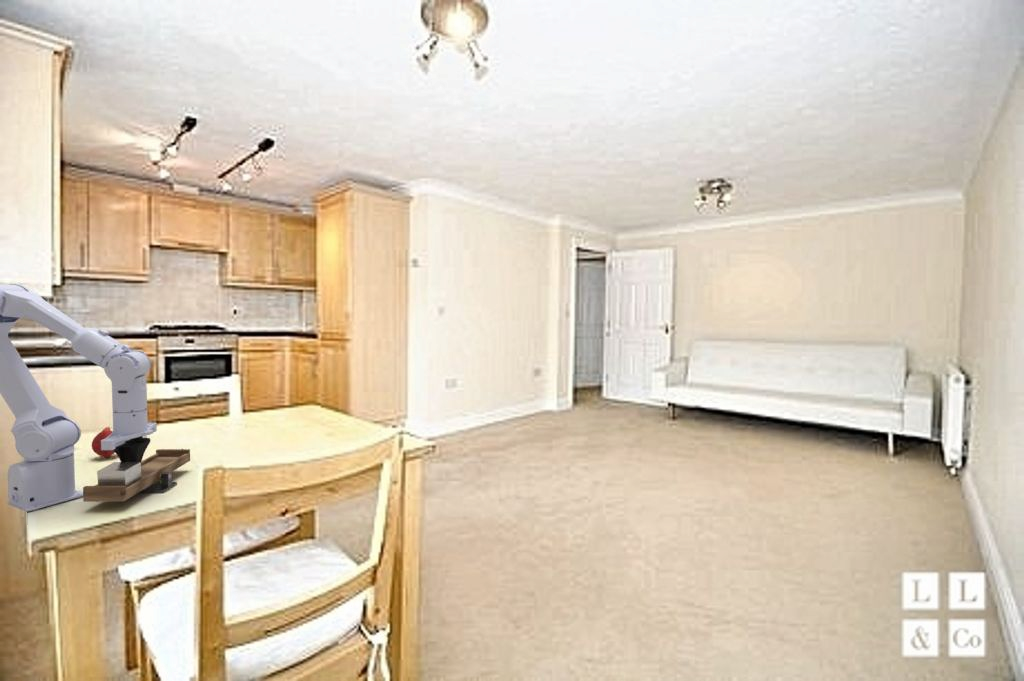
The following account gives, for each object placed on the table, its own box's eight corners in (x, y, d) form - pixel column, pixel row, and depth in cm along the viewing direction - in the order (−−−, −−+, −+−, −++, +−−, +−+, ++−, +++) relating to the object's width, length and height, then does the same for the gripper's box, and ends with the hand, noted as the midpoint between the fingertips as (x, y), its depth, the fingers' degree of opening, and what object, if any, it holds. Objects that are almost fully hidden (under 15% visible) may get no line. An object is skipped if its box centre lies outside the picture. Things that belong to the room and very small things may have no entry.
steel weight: (125, 490, 99) (124, 471, 99) (98, 490, 99) (97, 471, 98) (141, 480, 104) (140, 461, 104) (115, 480, 104) (114, 462, 103)
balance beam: (124, 501, 97) (124, 487, 97) (82, 501, 97) (82, 487, 96) (190, 460, 121) (190, 449, 121) (157, 460, 120) (157, 449, 120)
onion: (104, 462, 125) (104, 430, 125) (86, 460, 126) (85, 428, 126) (127, 455, 131) (126, 425, 130) (108, 453, 132) (108, 423, 131)
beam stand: (163, 493, 107) (163, 476, 107) (107, 493, 106) (106, 477, 106) (177, 484, 112) (176, 469, 112) (122, 484, 111) (122, 469, 111)
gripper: (128, 418, 97) (129, 486, 98) (170, 403, 112) (171, 463, 113) (88, 417, 97) (90, 487, 98) (136, 402, 111) (138, 463, 112)
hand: (131, 474), depth 105 cm, fingers closed
